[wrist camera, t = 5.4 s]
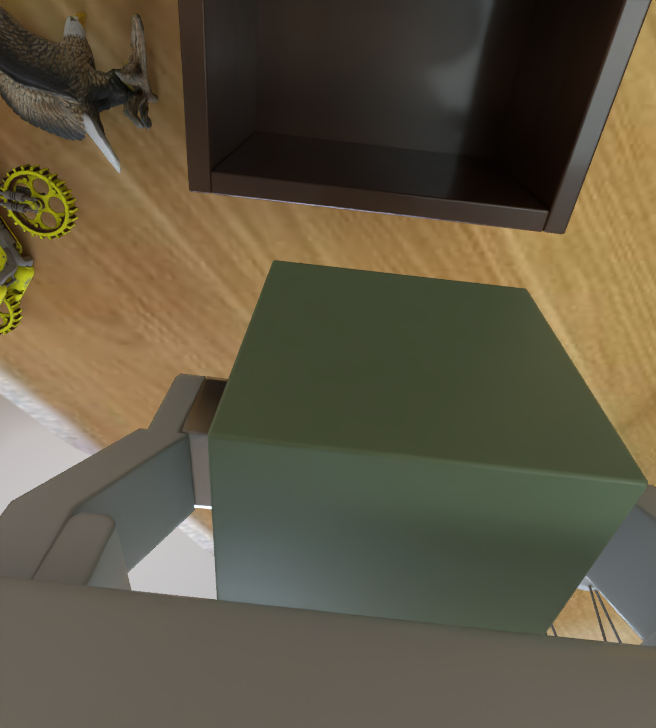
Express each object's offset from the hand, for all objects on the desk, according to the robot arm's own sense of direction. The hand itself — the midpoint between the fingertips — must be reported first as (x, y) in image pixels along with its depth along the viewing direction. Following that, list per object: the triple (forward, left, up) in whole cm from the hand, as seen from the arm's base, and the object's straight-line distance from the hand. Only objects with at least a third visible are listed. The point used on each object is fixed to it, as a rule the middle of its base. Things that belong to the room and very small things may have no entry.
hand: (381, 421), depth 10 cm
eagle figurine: (-4, -15, -20) cm, 26 cm away
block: (0, 0, -2) cm, 2 cm away
